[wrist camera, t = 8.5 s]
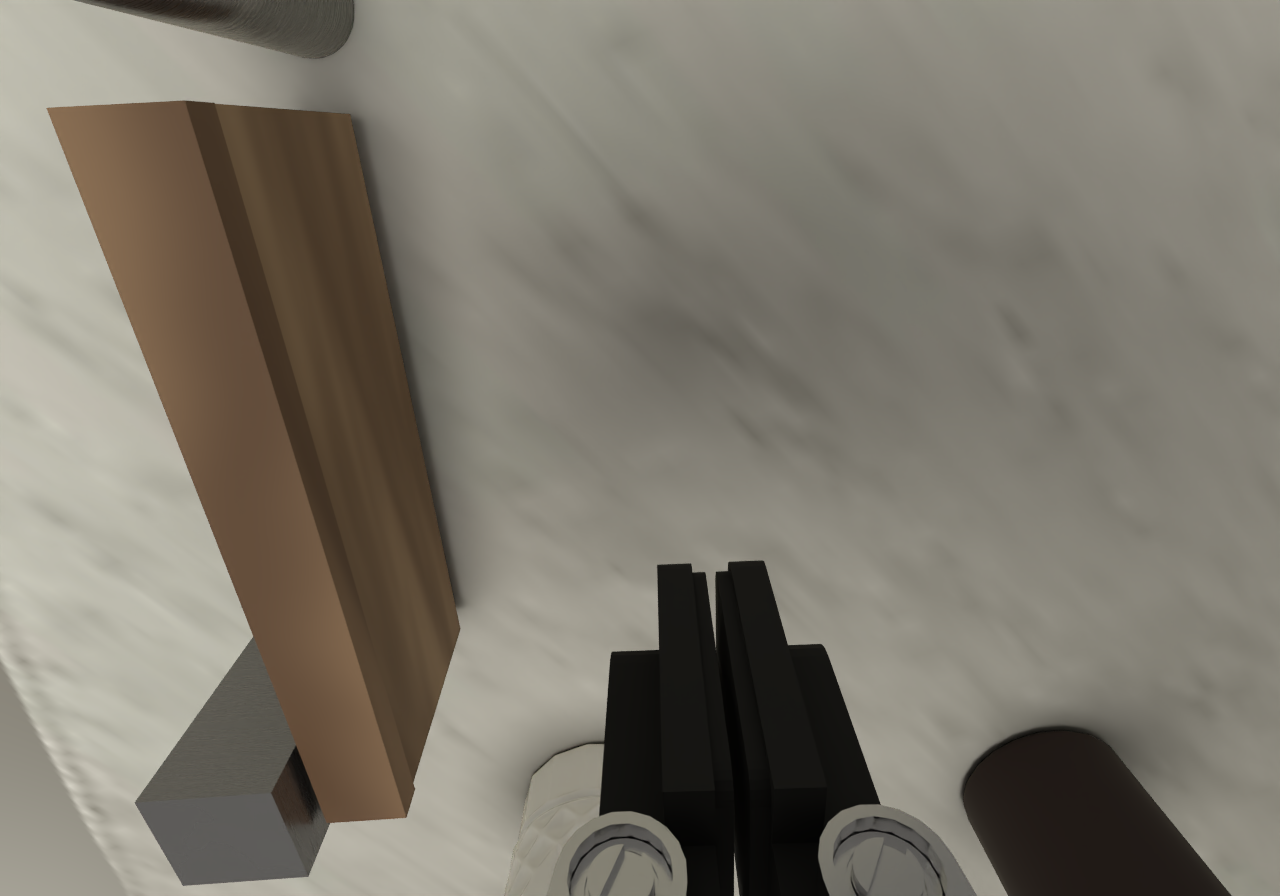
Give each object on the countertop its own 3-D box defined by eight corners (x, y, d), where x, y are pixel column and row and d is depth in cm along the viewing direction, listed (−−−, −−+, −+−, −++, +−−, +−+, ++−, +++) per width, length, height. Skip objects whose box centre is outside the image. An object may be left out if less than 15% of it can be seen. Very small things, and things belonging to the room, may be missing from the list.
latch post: (393, 556, 23) (270, 793, 15) (411, 624, 24) (308, 876, 16) (306, 562, 23) (134, 802, 14) (328, 630, 24) (183, 885, 16)
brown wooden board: (354, 114, 16) (184, 100, 10) (463, 628, 23) (406, 817, 17) (271, 118, 16) (46, 107, 10) (405, 632, 23) (326, 823, 16)
